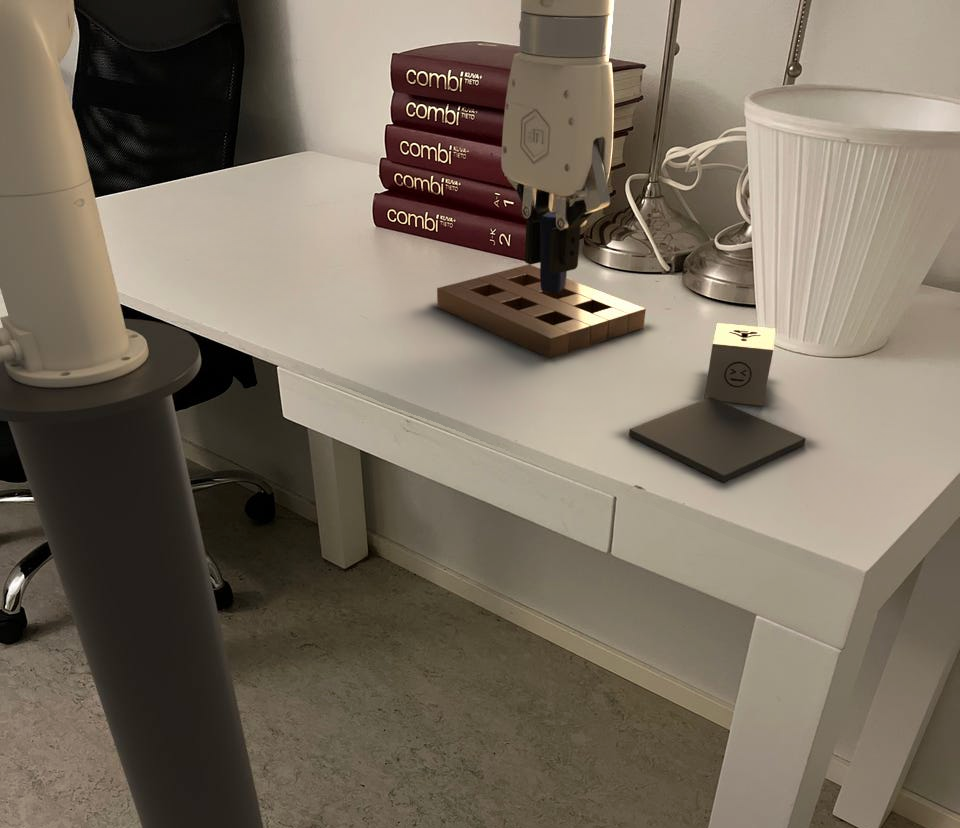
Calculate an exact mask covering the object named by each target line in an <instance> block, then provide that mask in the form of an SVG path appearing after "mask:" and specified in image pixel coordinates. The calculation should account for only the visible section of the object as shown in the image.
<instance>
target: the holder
mask: <svg viewBox="0 0 960 828" xmlns="http://www.w3.org/2000/svg"><path fill="white" fill-rule="evenodd" d="M436 294H437V295H436V299H437V300H436V301H437V304H436V305H437V307H438V308H439V309H442V310H443V311H446V312H447V313H450V314H453V316H457V317H459V318H461V319H463V320H465V321H467V322H470V323H472V324H474V325H475V326H478V327H480V328H483V329H484V330H487V331H489V332H491V333H493V334H496V335H498V336H499V337H502V338H504V339H506V340H509V341H510V342H513V343H515V344H517V345H519V346H522V347H523V348H525V349H527V350H530V351H532V352H535V353H537V354H539V355H541V356H543V357H545V358H548V359H553V358H556V357H560V356H562V355H565V354H568V353H571V352H574V351H578V350H581V349H584V348H587V347H590V346H593V345H595V344H600V343H601V342H604V341H607V340H611V339H614V338H617V337H620V336H623V335H626V334H629V333H632V332H636V331H638V330H641V329H644V328H645V319H646V308H645V307H643V306H640V305H638V304H634V303H632V302H630V301H627V300H624V299H622V298H618V297H616V296H614V295H611V294H608V293H605V292H604V291H601V290H597V289H595V288H592V287H590V286H587V285H585V284H582V283H580V282H577V281H574V280H571V279H569V278H566V285H565V288H563V290H561V291H560V292H557V293H553V292H545V291H542V290H541V283H540V267H537V266H534V265H533V264H531V265H530V264H528V263H527V264H525V265H521V266H518V267H513V268H509V269H505V270H501V271H498V272H494V273H490V274H486V275H483V276H479V277H476V278H471V279H467V280H463V281H460V282H456V283H451V284H448V285H444V286H440V287H437V288H436Z"/></svg>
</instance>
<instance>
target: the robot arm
mask: <svg viewBox="0 0 960 828" xmlns="http://www.w3.org/2000/svg"><path fill="white" fill-rule="evenodd" d="M614 3H615V0H520V11H521V12H520V20H519V23H518V29H519V52H518V53H515V54H514V55H513V59H512V64H511V67H510V72H509V77H508V82H507V89H506V94H505V95H506V96H505V102H504V103H505V104H504V114H503V124H502V125H503V126H502V135H501V136H502V138H501V155H500V157H501V159H500V160H501V161H500V163H501V170H502V173H503V175H505V177H506V179H507V181H508V182H509V184H511V186H512V187H513V188H514V189H515V190H516V193H517V195H518V197H519V199H520V201H521V204H522V205H521V213H522V216H523V217H524V218H525V219H526V223H525V245H524V246H525V248H524V262H525V263H526V264H527V265H528V264H529V265H534V264H539V263H540V218H541V216H543V215H545V214H546V213H547V212H549V211H551V212H553V205H554V204H553V203H554V195H556V203H555V204H556V205H555V212H556V226H557V227H555V228H551V234H550V250H549V267H548V269H549V272H550V273H553V274H558V273H562V272H566V271H567V272H570V271H573V270H576V269H577V268H578V265H579V254H580V241H581V230H582V229H581V228H582V227H583V226H585V225H586V224H587V222H588V219H589V217H591V216H592V214H594V212H597V211H600V210H602V209H604V208H607V207H608V206H609V205H610V204H611V197H610V192H609V187H608V181H609V177H610V172H611V165H612V158H613V157H612V155H613V143H614V125H615V124H614V118H615V117H614V116H615V114H614V113H615V111H614V110H615V101H614V100H615V97H614V76H613V75H614V74H613V65H612V62H611V61H609V59H610V50H611V37H612V28H613V27H612V25H613V17H614V16H613V15H614V14H613V13H614ZM75 17H76V15H75V2H74V0H0V292H1V295H2V298H3V303H4V305H5V309H6V312H7V315H4V316H0V323H1V325H2V327H0V363H1V362H3V361H4V363H5V367H6V370H7V373H8V375H9V376H10V377H11V378H13V379H14V380H16V381H18V382H20V383H22V384H26V385H30V386H35V387H42V388H71V387H80V386H87V385H93V384H98V383H102V382H106V381H109V380H112V379H115V378H118V377H121V376H123V375H126V374H128V373H130V372H132V371H133V370H135V369H137V368H138V367H140V366H141V365H142V364H143V363H144V362H145V361H146V359H147V357H148V353H149V350H148V346H147V342H146V340H145V338H144V337H143V336H142V335H140V334H138V333H137V332H135V331H132V330H129V329H126V327H125V323H124V319H125V318H124V315H123V311H122V305H121V302H120V297H119V293H118V290H117V285H116V281H115V277H114V276H115V275H114V272H113V268H112V264H111V259H110V254H109V251H108V246H107V242H106V238H105V237H106V236H105V234H104V229H103V225H102V221H101V220H102V219H101V217H100V213H99V207H98V203H97V199H96V195H95V190H94V187H93V181H92V178H91V174H90V170H89V165H88V162H87V161H88V160H87V157H86V154H85V149H84V144H83V141H82V137H81V133H80V129H79V127H78V123H77V120H76V117H75V114H74V110H73V107H72V103H71V100H70V97H69V94H68V91H67V88H66V84H65V80H64V78H63V74H62V71H61V66H60V63H61V62H62V61H63V60H64V58H65V57H66V56H67V53H68V52H69V49H70V48H71V45H72V41H73V37H74V33H75V21H76V19H75ZM572 199H574V201H573V203H572V204H571V200H572ZM570 205H571V206H570Z"/></svg>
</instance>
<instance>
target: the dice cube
mask: <svg viewBox="0 0 960 828" xmlns="http://www.w3.org/2000/svg"><path fill="white" fill-rule="evenodd" d="M776 330H777V329H776V328H774V327H763V326H753V325H744V324H743V325H742V324H733V323H722V322H717V323H716V327H715V332H714V336H713V339H712V346H711V353H710V359H709V363H708V364H709V365H708V372H707V377H706V384H705V391H704V399H703V400H705V399H707V398H710V397H712V398H714V399H716V400H719V401H721V402H723V403H733V404H743V405H752V406H759V407H760V406H761V407H763V405H764V400H765V395H766V390H767V385H768V379H769V375H770V369H771V365H772V359H773V354H774V347H775V339H776V338H775V337H776Z"/></svg>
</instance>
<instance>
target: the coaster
mask: <svg viewBox="0 0 960 828" xmlns="http://www.w3.org/2000/svg"><path fill="white" fill-rule="evenodd" d="M628 436H629V437H631V438H633V439H635V440H636V441H639V442H641V443H643V444H646V445H648V446H649V447H651V448H653V449H655V450H658V451H659V452H661V453H664V454H665V455H667V456H669V457H671V458H673V459H675V460H677V461H679V462H681V463H683V464H685V465H687V466H689V467H691V468H694V469H695V470H698V471H699V472H701V473H703V474H705V475H707V476H709V477H711V478H713V479H715V480H718V482H721V483H725V482H727V481H729V480H731V479H733V478H736V477H738V476H740V475H742V474H744V473H747V472H749V471H750V470H753V469H755V468H757V467H759V466H762V465H763V464H765V463H768V462H770V461H772V460H774V459H777V458H778V457H779V458H780V457H781V456H783V455H785V454H787V453H789V452H791V451H794V450H796V449H798V448H800V447H802V446H804V445H806V439H807V438H806V437H804V436H802V435H799V434H797V433H795V432H793V431H790V430H788V429H786V428H783V427H781V426H779V425H777V424H774V423H772V422H769V421H768V420H766V419H763V418H760V417H758V416H755V415H753V414H752V413H749V412H746V411H745V410H742V409H741V408H737V407H735V406H734V405H730V404H728V403H727V402H724V401H719V400H716V399H714V398H712V397H710V398H707V399H702V400H699V401H697V402H695V403H692V404H689V405H687V406H685V407H682V408H680V409H677V410H675V411H672V412H669V413H667V414H664V415H662V416H659V417H657V418H654V419H651V420H650V421H646V422H644V423H641V424H639V425H636V426H633V427H632V428H629V429H628Z"/></svg>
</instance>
